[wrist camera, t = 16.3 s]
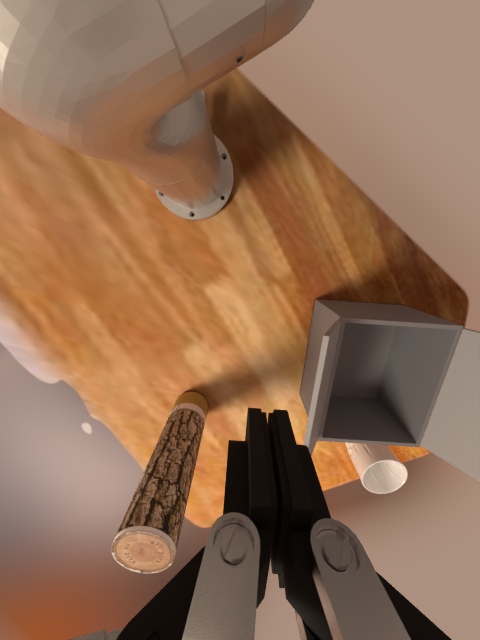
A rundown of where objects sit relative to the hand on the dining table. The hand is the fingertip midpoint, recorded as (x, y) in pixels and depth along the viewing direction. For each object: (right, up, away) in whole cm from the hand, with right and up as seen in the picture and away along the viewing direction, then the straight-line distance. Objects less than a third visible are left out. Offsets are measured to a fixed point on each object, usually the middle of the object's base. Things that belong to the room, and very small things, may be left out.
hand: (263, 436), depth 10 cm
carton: (+20, -1, +35) cm, 40 cm away
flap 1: (+10, -5, +20) cm, 23 cm away
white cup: (+25, -20, +40) cm, 51 cm away
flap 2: (+30, -6, +20) cm, 36 cm away
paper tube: (-11, -13, +39) cm, 42 cm away
